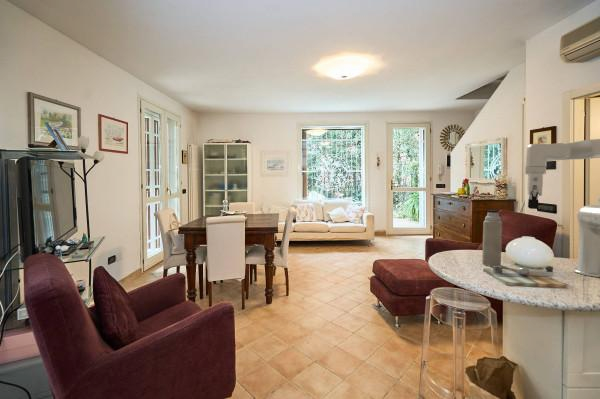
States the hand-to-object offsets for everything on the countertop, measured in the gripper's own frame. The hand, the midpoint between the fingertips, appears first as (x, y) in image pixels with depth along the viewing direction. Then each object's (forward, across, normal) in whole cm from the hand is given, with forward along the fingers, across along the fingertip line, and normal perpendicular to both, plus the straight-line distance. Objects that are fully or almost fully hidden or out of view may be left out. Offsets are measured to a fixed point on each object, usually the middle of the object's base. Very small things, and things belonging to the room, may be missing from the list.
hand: (532, 208), depth 137 cm
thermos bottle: (+31, +6, +15) cm, 35 cm away
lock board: (+31, -13, +3) cm, 33 cm away
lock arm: (+29, -10, -2) cm, 31 cm away
